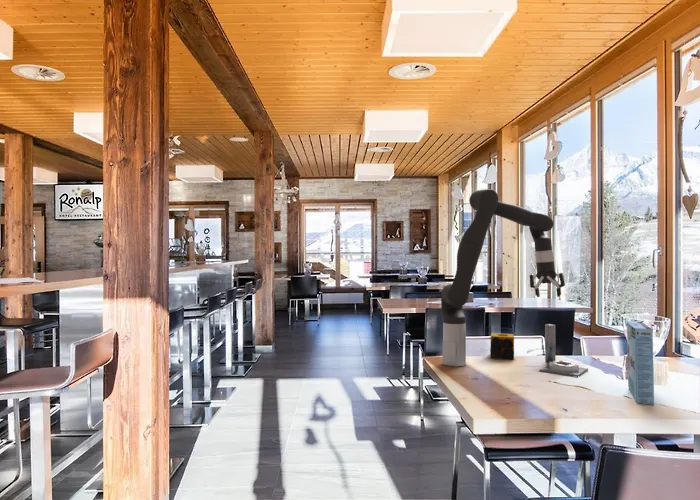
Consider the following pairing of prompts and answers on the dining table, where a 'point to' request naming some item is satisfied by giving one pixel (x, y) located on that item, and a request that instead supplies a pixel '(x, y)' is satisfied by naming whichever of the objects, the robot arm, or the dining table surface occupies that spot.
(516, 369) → the dining table surface
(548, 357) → the pin
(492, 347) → the brown textured cube
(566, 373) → the collar
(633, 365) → the blue cardboard box
